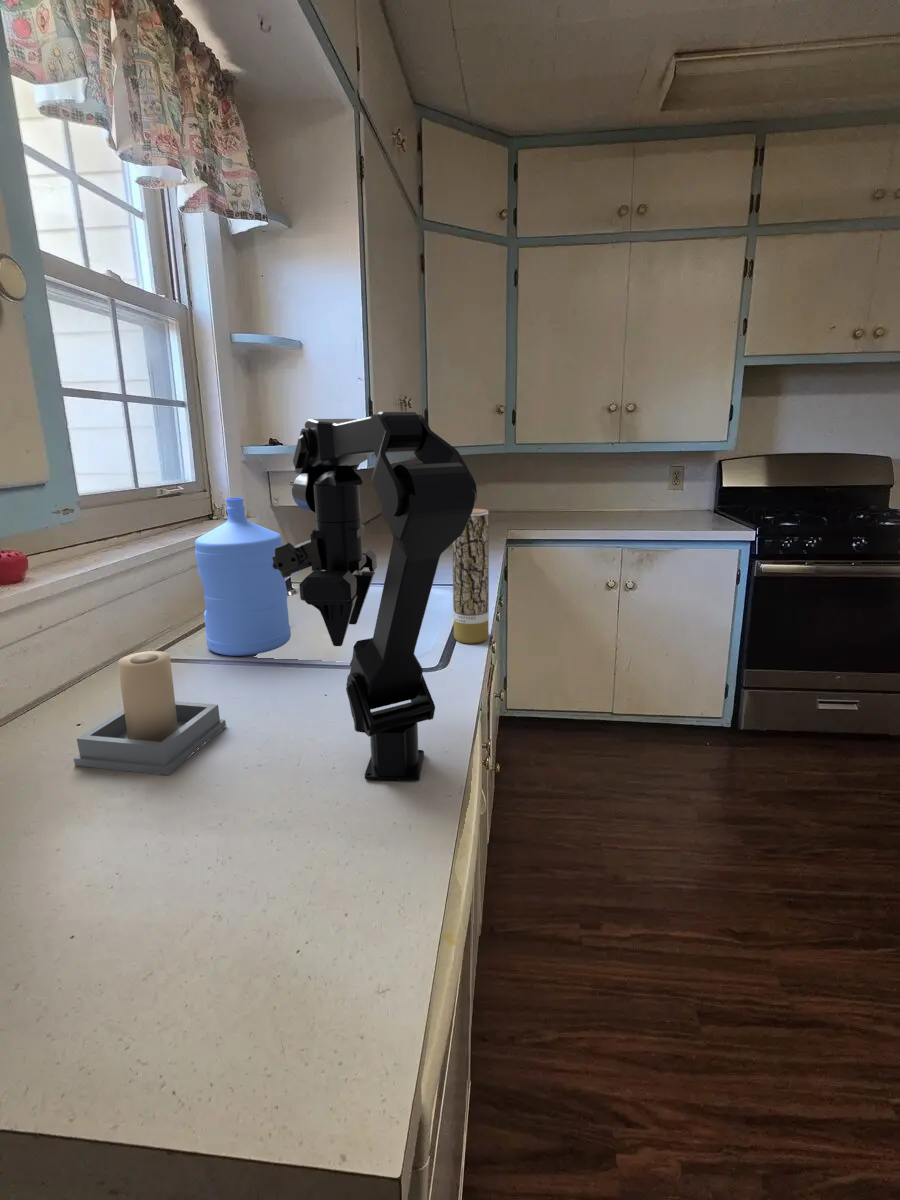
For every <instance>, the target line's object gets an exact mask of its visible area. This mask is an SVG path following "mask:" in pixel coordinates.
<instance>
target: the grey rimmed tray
mask: <svg viewBox="0 0 900 1200" xmlns="http://www.w3.org/2000/svg"><path fill="white" fill-rule="evenodd" d="M175 705H176V714H177V723H178V730H176V731H175V732H174V733H172V734H171V735H170V736H168V737H167V738H166V739H164V740H163V741H162V742H155V741H144V740H133V739H128V735H127V727H126V720H125V713H124V709H122V710H121V711H119V712H117V713H115V714H114V715H113V716H111V717H109V718H108V719H106V720H104V721H103V722H101V723H99V724H98V725H96V726H94V727H93V728H92V729H90V730H88V731H86V732H85V733H84V734H82V735H80V736H78V737H77V738H76V742H77V747H78V753H79V754H78V755H77V756H75V757H74V758H73V763H74V766H75V767H82V768H83V767H84V768H94V769H101V770H102V769H105V770H113V771H125V772H133V773H141V774H143V773H144V774H151V775H152V774H153V775H162V776H170V774H172V773H173V772H174V771H176V769H177V768H179V767H180V766H181V765H182V764H183V763H184V761H185V760H186V759H187V758H188V757H189V756H190V755H191V754H192V753H193V752H195V751H196V750H197V749H198V748H200V747H201V746H202V745H203V744H204V743H205V742H207V741H208V740H209V739H210V740H212V739H213V738H214V737H215V736H216V735H218V734H217V733H218V732H219V731H220V730H221V729H222V730H224V729H225V728H226V727H227V723H226V719H222V718H221V717H220V709H219V704H217V703H215V704H214V703H203V702H189V701H179V700H175ZM225 726H226V727H225ZM224 727H225V728H224ZM222 730H221V731H222ZM221 731H220V732H221ZM220 732H219V733H220ZM214 735H215V736H214ZM213 736H214V737H213ZM212 737H213V738H212ZM211 738H212V739H211ZM210 740H209V741H210ZM209 741H208V742H209ZM208 742H207V743H208ZM203 746H204V745H203ZM203 746H202V747H203ZM202 747H201V748H202ZM201 748H200V749H201ZM196 752H197V751H196ZM196 752H195V753H196ZM190 757H191V756H190ZM190 757H189V758H190ZM189 758H188V759H189ZM188 759H187V760H188ZM187 760H186V761H187ZM186 761H185V762H186ZM178 766H179V767H178Z"/></svg>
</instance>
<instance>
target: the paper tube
mask: <svg viewBox="0 0 900 1200" xmlns="http://www.w3.org/2000/svg"><path fill="white" fill-rule="evenodd" d="M489 517H490V515H489V510H488V509H485V508H473V511H472V514H471V516H470V518H469V520H468V522H467V525H466V527H465V529H464V531H463V533H462V534H461V535H460V536H459V537H458V538H457V539H456V540H455V541H454V542H453V543H452V544H451V546H452V552H451V553H452V604H453V607H452V608H453V611H452V613H453V617H452V619H453V638H454V640H456V641H457V642H459V643H462V644H468V645H469V644H472V645H473V644H480V643H483V642H486V641H487V639H488V638H489V618H490V617H489V615H490V614H489V613H490V611H489V608H490V607H489V606H490V605H489V602H490V599H489V598H490V597H489V595H490V593H489V585H490V584H489V583H490V582H489V581H490V580H489V579H490V577H489V574H490V571H489V570H490V569H489V568H490V567H489V565H490V564H489V563H490V559H489V558H490V555H489V552H490V551H489V550H490V549H489V548H490V547H489V544H490V542H489V539H490V537H489V535H490V531H489V530H490V529H489V527H490V526H489V525H490V524H489V522H490V521H489V519H490V518H489Z"/></svg>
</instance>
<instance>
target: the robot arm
mask: <svg viewBox="0 0 900 1200" xmlns="http://www.w3.org/2000/svg"><path fill="white" fill-rule="evenodd" d="M296 443H297V444H296V446H295V452H294V455H293V458H292V462H293V467H294V471H295V474H298V476H297V477H296V478H295V480H294V482H293V485H292V488H291V495H292V499H293V501H294V503H295V504H296V505H297V506H298V507H299V508H301V509H302V510H305V511H307V512H310V513H313V514H315V524H316V525H315V526H316V527H315V528H314V529H313V530H312V531H311V532H310V533H309V534H310V539H309V540H306V541H303V542H300V543H297V544H295V545H293V544H291V543H290V542H286V543H285V544H283V545H282V546H279V547H277V548H275V555H274V556H273V557H272V559H273V562H274V563H273V568H274V569H278V570H279V571H280V573H281V575H282V577H283V578H285V579H286V578H288V577H290V576H292V574H295V573H297V572H300V571H302V570H305V569H308V568H311V571H312V572H311V573H309V574H308V575H307V576H306V577H305V578H303V580H302V581H301V582H300V583H299V597H300V598H299V599H300V600H301V601H303V602H305V603H306V604H307V605H310V606H312V607H314V608H316V610H318V611H319V612H320V615H321V617H322V619H323V621H324V624H325V627H326V630H327V633H328V635H329V637H330V640H331V643H332V646H334V647H342V646H343V645H344V644H343V643H344V640H345V638H346V634H347V631H348V629H349V628H348V627H349V625H357V624H358V621H359V618H360V616H361V612H362V610H363V606H364V603H365V600H366V598H367V595H368V592H369V590H370V587H371V584H372V581H373V579H374V576H375V573H376V572H375V570H376V569H377V566H378V565H377V564H378V563H377V562H378V561H377V554H375V552H374V551H372V550H371V548H363V534H365V532H366V531H365V524H362V518H361V516H362V514H361V497H360V496H361V495H360V494H361V493H360V486H362V485H363V483H364V482H363V479H362V476H361V475H360V474H358V473H357V470H358V468H359V466H360V464H362V463H363V462H365V461H367V460H368V459H369V456H368V455H374V456H375V457H376V462H375V465H374V469H373V472H372V476H371V484H372V486H373V488H374V490H375V493H376V495H377V497H378V499H379V501H380V503H381V506H382V510H381V515H382V517H383V519H384V521H385V523H386V525H387V527H388V529H389V531H390V533H391V535H392V537H393V538H392V544H391V548H390V555H389V558H388V564H387V569H386V574H385V579H384V583H383V587H382V588H383V589H382V593H381V598H380V602H379V608H378V612H377V616H376V617H377V618H376V623H375V625H374V626H375V627H374V632H373V636H372V637H370V638H366V639H359V640H357V641H356V642H355V644H354V645H353V650H352V657H351V661H350V662H349V666H350V671H349V674H348V675H347V679H346V685H345V686H346V688H345V691H346V694H347V698H348V701H349V707H350V713H351V716H352V719H353V724H354V731H355V732H357V733H363V734H366V736H367V737H368V738H370V739H369V741H370V755H371V756H370V758H369V761H368V763H367V766H366V769H365V772H364V779H365V780H368V781H369V780H371V781H419V780H420V778H421V772H422V769H423V768H422V767H423V763H424V758H425V750H423V749H419V735H418V733H419V729H418V728H419V727H418V723H421V722H423V721H424V722H425V721H430V720H433V719H434V717H435V711H436V705H435V701H434V700H433V697H432V695H431V692H430V689H429V688H428V685H427V682H426V680H425V678H424V674H423V672H424V670H423V667H422V665H421V664H420V662H419V660H418V658H417V656H416V655H415V651H416V650H415V649H416V647H417V643H418V639H419V636H420V632H421V628H422V625H423V621H424V617H425V613H426V610H427V606H428V602H429V600H430V599H429V598H430V595H431V593H432V587H433V584H434V581H435V577H436V573H437V569H438V566H439V561H440V558H441V555H442V554H443V553H444V552H445V550H447V549H448V548H449V547H450V546H452V543H453V542H454V541H455V540H456V539H457V538H458V537H459V536H460V535H461V534H462V533H463V531H464V529H465V527H466V525H467V522H468V520H469V518H470V516H471V514H472V511H473V509H475V504H476V501H477V496H478V495H477V493H478V491H477V490H478V489H477V484H476V481H475V479H474V477H473V475H472V473H471V471H470V470H469V468H468V466H467V464H466V463H465V461H464V460H463V458H462V456H461V454H460V452H459V450H457V449H456V447H454V446H452V445H451V444H450V443H449V442H447V441H446V440H444V439H443V438H442V437H440V436H439V435H438V434H436V433H435V432H434V431H432V430H431V428H430V426H429V424H428V422H427V421H426V419H425V417H424V416H423V415H422V414H419V413H417V412H416V411H378V413H377V414H375V413H374V414H372V415H371V416H367V417H363V418H358V419H357V418H308V419H307V420H306V422H304V428H302V429H301V430H300V434H299V438H298V439H297V442H296ZM405 453H406V454H408V453H409V454H410V453H414V455H415V457H416V458H417V459H418V460H419V461H420V462H421V463H407V464H406V463H403V464H396V466H394V467H392V465H391V463H390V461H389V459H388V456H387V454H405ZM366 568H368V570H365V569H366ZM407 701H410V702H407ZM402 702H406V703H402ZM398 703H402V704H399V705H396V704H398ZM394 704H395V705H394ZM391 705H394V706H391ZM386 706H391V707H388V708H383V707H386ZM378 708H383V709H378ZM375 709H378V710H375ZM371 710H375V711H371Z"/></svg>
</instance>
